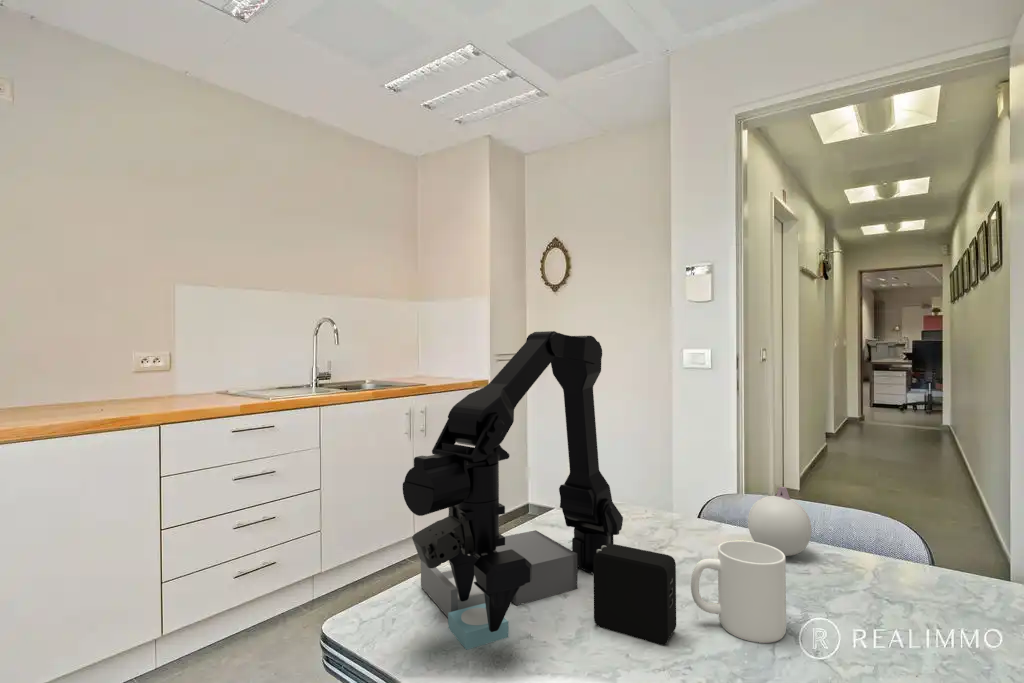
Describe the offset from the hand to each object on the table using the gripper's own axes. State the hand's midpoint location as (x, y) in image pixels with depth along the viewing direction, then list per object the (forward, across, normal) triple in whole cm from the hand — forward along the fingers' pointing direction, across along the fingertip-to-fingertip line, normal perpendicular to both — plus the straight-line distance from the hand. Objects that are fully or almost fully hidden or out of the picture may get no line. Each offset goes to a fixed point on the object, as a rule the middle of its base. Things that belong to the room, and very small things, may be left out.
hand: (478, 614), depth 71 cm
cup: (+2, +16, +31) cm, 35 cm away
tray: (+2, -10, +4) cm, 11 cm away
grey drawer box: (+2, -10, +13) cm, 16 cm away
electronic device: (+2, +10, +18) cm, 21 cm away
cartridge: (+3, 0, 0) cm, 3 cm away
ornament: (+2, +3, +59) cm, 59 cm away
